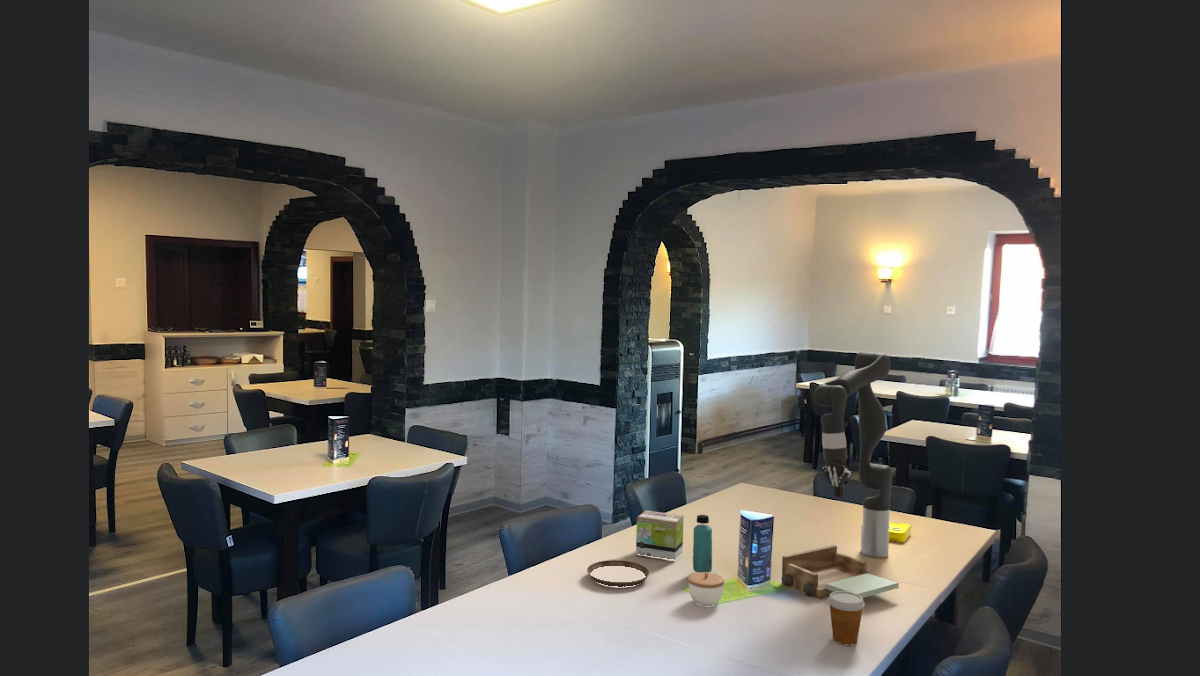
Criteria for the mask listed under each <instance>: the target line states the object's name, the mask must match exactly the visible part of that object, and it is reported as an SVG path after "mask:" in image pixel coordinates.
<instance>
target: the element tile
mask: <svg viewBox="0 0 1200 676" xmlns="http://www.w3.org/2000/svg"><path fill="white" fill-rule="evenodd" d="M910 535H912V525H911V524H909V523H904V522H897V521H891V520H889V542H893V541H896V542H895V543H899V542H904V543H906V542H907V540H908V539H909V538H910V537H911V536H910ZM909 536H910V537H909ZM908 537H909V538H908ZM905 541H906V542H905Z"/></svg>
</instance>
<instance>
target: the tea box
mask: <svg viewBox="0 0 1200 676" xmlns="http://www.w3.org/2000/svg"><path fill="white" fill-rule="evenodd" d="M635 536H636V538H635V540H636V541H635V542H636V543H635V544H636V545H635V555H636V554H640V555H647V556H653V557H660V558H667V559H674V560H675V559H676V558H677V557H678V556H679V555H680V554H681V553H682V554H683V544H684V515H681V514H675V513H667V512H660V511H653V510H646V509H645V510H644V511H643V512H642V513H641V514H640V515H638V516H637V517H636V535H635Z"/></svg>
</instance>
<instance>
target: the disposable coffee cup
mask: <svg viewBox="0 0 1200 676" xmlns="http://www.w3.org/2000/svg"><path fill="white" fill-rule="evenodd" d="M827 601H828V604H829V611H830V623H831V631H832V632H831V633H832V640H833V639H834V640H835V641H836V642H835V641H834V640H833V641H834V642H835V643H837V642H839V643H841V644H840V645H842V644H848V645H847V646H855V645H856V644H858V640H859V634H860V625H861V620H862V615H863V609H864V607H865V601H864V598H862V597H861V596H860V595H858V594H855V593H852V592H846V591H836V592H832V593H831V594H830V596H829V597H827ZM839 643H838V644H839ZM852 644H853V645H852ZM854 644H855V645H854Z"/></svg>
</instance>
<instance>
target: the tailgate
mask: <svg viewBox="0 0 1200 676" xmlns="http://www.w3.org/2000/svg"><path fill="white" fill-rule="evenodd" d="M868 573H869V572H868ZM868 573H866V574H862V575H858V576H854V577H850V578H846V579H842V580H838V581H835V582H831V583H827V584H826V589H828V590H830V591H833V592H836V591H846V592H852V593H855V594H858V595H860V596H861V597H862V598H863V599H864V598H867V597H871V596H874V595H878V594H881V593H885V592H889V591H893V590H895V589H899V588H900V585H899V582H897V581H893V580H890V579H887V578H884V577H880V576H877V575H874V574H871V573H869V574H868Z"/></svg>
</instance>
